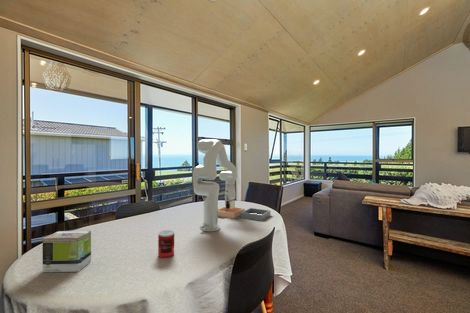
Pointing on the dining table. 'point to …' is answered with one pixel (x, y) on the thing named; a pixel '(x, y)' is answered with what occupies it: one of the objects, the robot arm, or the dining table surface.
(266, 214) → the bin
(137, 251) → the dining table surface
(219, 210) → the tub
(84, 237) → the tea box
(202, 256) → the dining table surface
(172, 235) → the canned food
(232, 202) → the stone block
